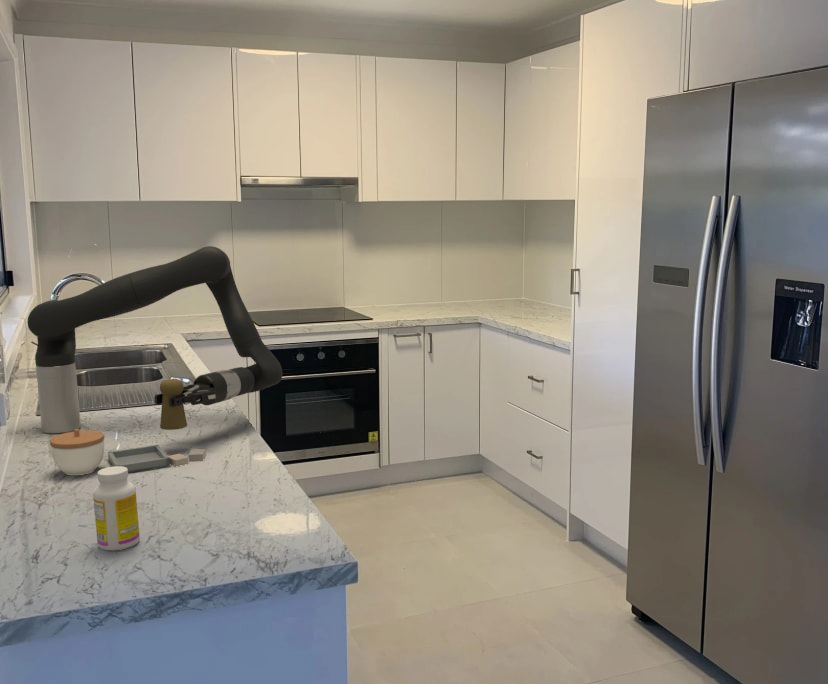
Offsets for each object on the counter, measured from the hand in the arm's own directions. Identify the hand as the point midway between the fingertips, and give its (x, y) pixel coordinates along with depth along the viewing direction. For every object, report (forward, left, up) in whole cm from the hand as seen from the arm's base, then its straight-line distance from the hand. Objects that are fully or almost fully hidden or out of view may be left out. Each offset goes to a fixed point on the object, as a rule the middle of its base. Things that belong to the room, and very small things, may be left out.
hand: (163, 401), depth 182 cm
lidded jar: (+3, -19, -13) cm, 23 cm away
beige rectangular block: (+7, +5, -13) cm, 15 cm away
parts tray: (+4, -7, -13) cm, 15 cm away
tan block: (+8, +1, -13) cm, 15 cm away
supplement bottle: (+48, -18, -13) cm, 53 cm away
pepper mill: (-1, +2, -7) cm, 7 cm away
